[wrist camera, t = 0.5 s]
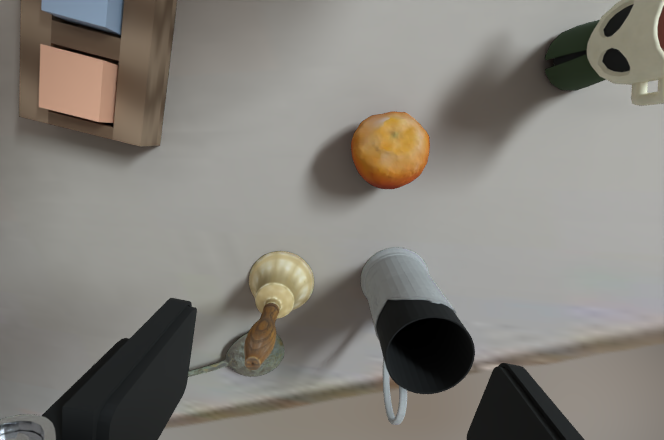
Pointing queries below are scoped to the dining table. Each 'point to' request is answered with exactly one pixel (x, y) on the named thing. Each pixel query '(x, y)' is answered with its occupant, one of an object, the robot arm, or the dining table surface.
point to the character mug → (614, 51)
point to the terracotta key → (77, 84)
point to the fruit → (390, 149)
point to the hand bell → (275, 299)
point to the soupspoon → (237, 360)
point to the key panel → (126, 51)
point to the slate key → (88, 13)
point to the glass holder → (414, 328)
